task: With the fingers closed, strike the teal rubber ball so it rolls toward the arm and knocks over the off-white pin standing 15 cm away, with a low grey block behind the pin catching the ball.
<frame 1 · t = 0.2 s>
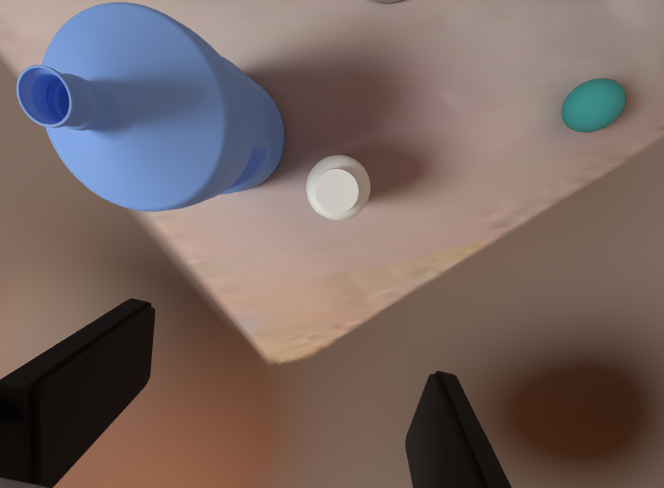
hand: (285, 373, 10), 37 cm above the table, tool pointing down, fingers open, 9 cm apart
water jug: (232, 135, 44), on the table
ball: (592, 106, 38), on the table
pill bottle: (341, 182, 45), on the table
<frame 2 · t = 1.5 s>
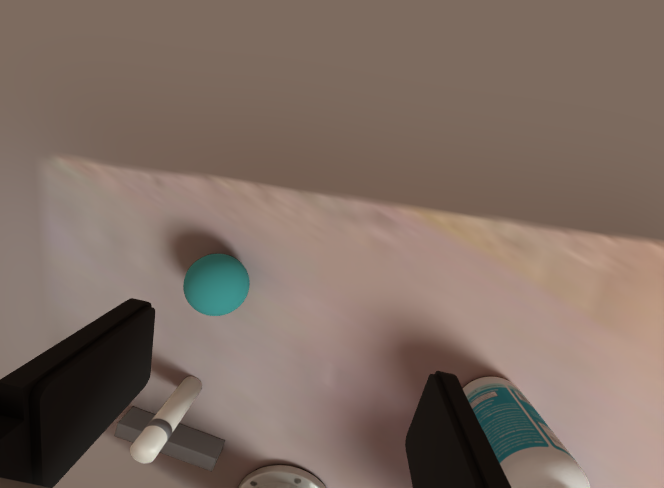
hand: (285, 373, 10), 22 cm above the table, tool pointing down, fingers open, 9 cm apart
grey block: (177, 429, 38), on the table
ball: (217, 284, 30), on the table
pill bottle: (486, 400, 35), on the table
pin: (192, 385, 36), on the table
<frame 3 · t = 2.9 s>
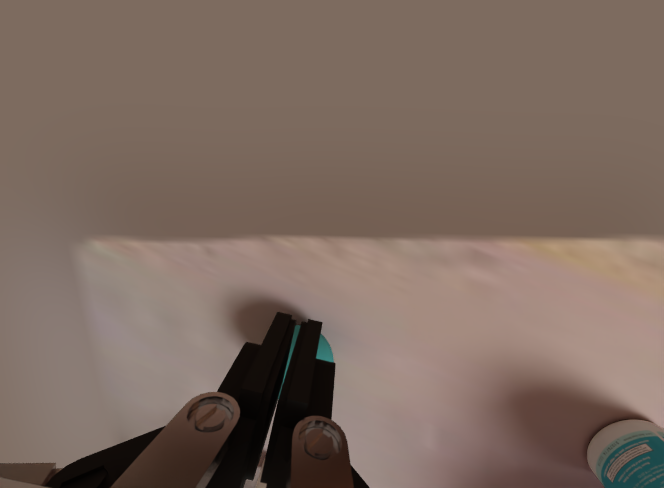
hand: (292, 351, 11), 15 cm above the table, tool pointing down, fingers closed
ball: (297, 362, 25), on the table
pill bottle: (622, 444, 29), on the table
pin: (274, 463, 32), on the table
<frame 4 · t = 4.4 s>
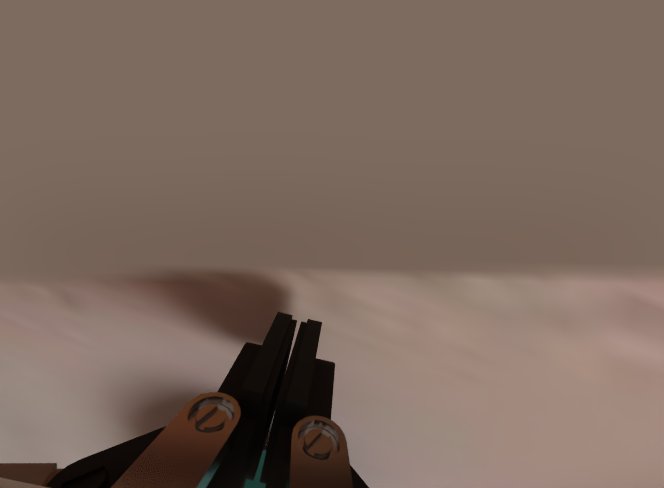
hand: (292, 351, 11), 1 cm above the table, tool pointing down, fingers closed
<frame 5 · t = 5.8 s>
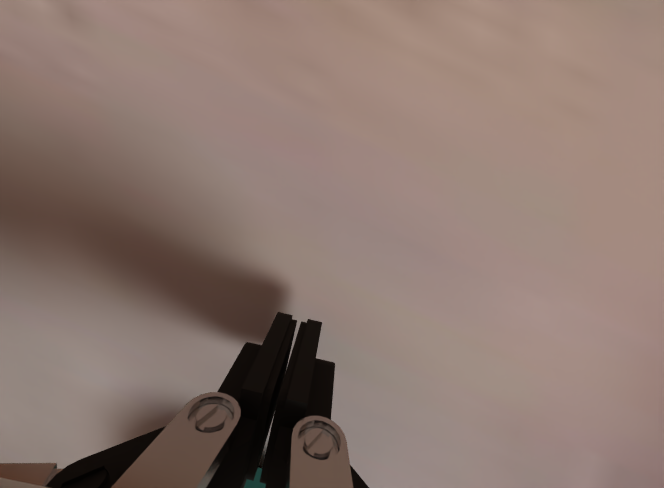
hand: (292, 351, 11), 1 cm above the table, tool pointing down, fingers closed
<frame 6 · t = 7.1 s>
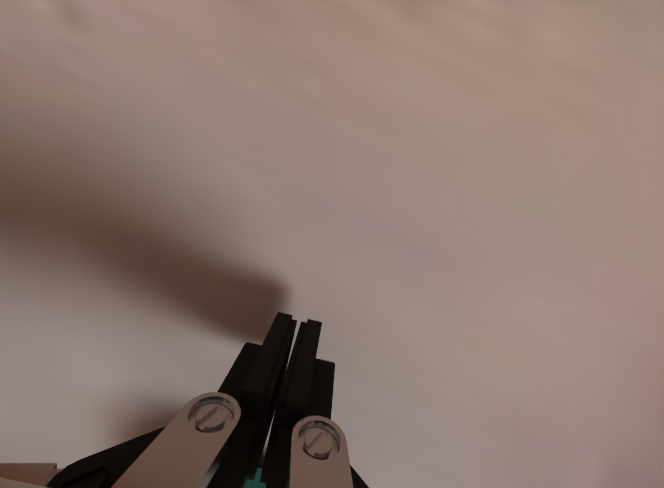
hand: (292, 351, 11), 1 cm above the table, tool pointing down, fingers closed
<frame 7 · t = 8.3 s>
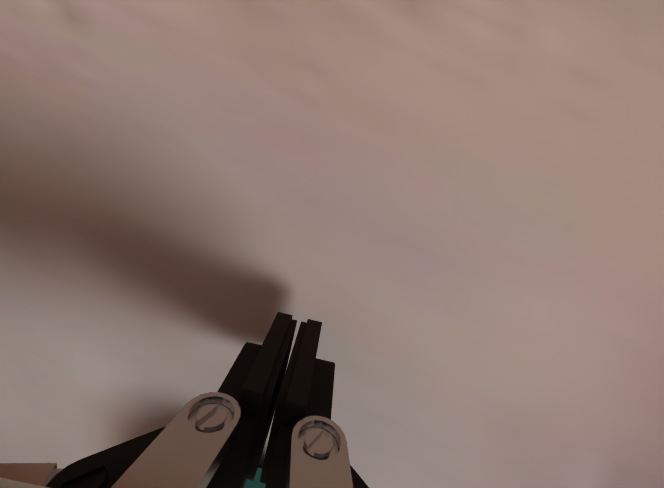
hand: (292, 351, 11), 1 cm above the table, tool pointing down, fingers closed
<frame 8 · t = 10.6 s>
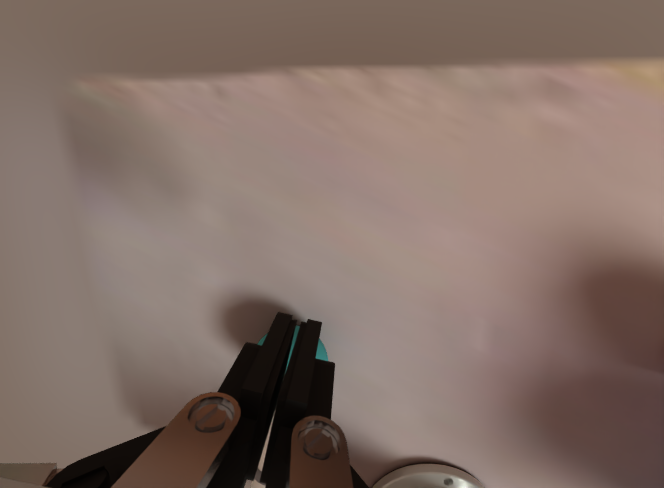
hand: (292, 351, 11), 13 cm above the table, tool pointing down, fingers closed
ball: (289, 365, 24), on the table
pin: (291, 385, 27), point 1 cm above the table, tilted 64°, touching grey block
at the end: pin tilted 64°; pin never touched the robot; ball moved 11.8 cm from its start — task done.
